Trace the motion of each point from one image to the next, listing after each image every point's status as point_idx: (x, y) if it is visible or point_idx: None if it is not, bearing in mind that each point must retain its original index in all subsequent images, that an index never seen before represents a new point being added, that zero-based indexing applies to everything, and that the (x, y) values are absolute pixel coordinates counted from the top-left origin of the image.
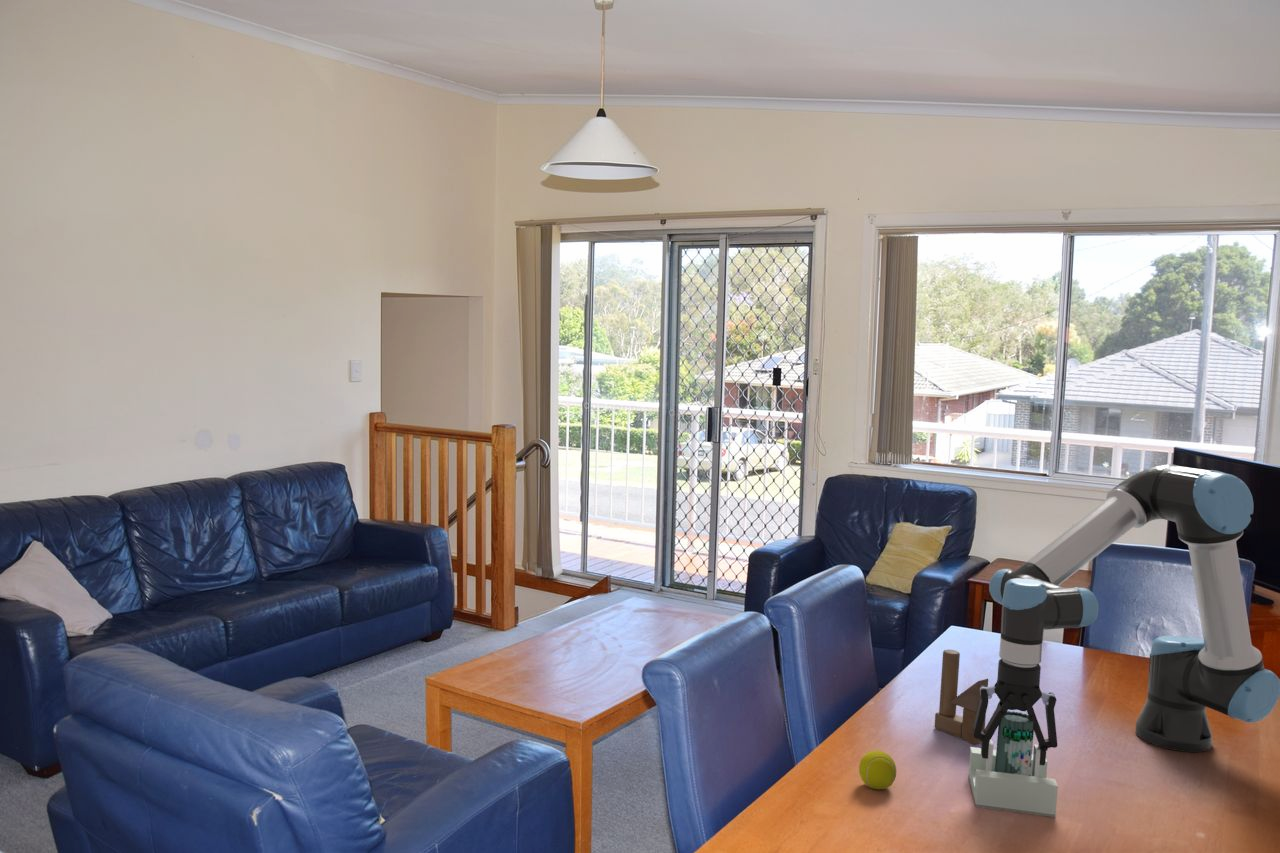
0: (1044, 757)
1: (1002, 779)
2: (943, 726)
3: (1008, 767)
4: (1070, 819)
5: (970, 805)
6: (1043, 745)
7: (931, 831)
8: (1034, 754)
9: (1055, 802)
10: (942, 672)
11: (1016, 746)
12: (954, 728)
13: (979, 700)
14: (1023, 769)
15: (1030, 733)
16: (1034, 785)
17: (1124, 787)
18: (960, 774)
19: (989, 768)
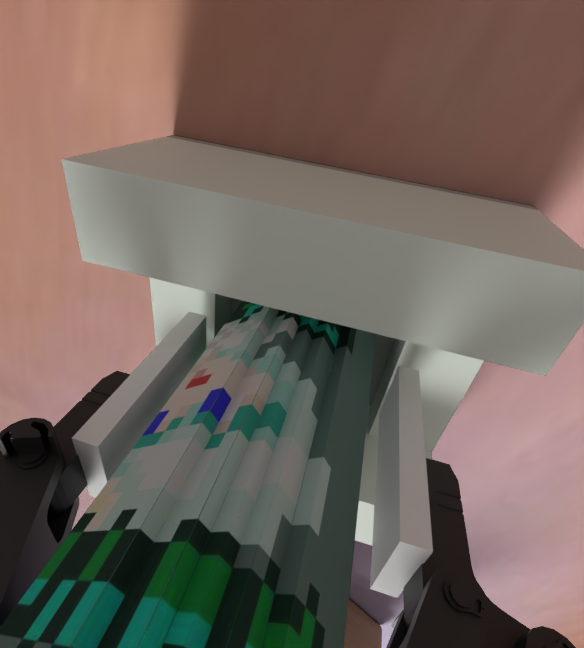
0: (86, 403)
1: (418, 235)
2: (366, 629)
3: (320, 366)
4: (115, 124)
5: (553, 222)
6: (24, 466)
7: None
8: (138, 437)
9: (136, 145)
10: None
11: (230, 482)
12: (346, 621)
13: None
14: (234, 346)
15: (32, 601)
16: (207, 185)
17: None
18: (434, 459)
19: (410, 401)
